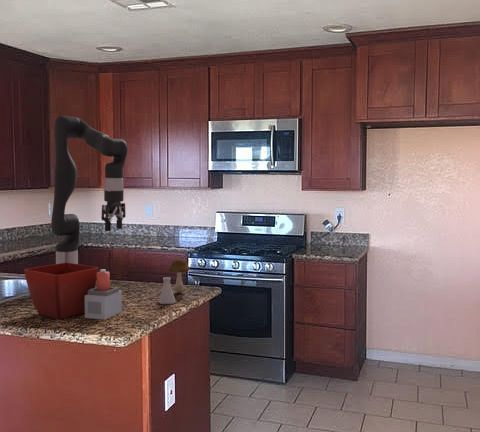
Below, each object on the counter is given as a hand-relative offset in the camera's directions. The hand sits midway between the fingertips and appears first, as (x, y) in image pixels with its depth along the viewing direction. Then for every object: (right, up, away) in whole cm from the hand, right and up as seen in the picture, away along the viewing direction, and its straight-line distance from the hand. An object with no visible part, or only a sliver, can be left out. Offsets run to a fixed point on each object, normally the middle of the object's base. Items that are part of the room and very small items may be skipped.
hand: (113, 230), depth 228 cm
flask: (+21, -29, -1) cm, 36 cm away
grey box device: (+1, -30, -20) cm, 37 cm away
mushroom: (+24, -28, +18) cm, 41 cm away
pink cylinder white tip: (+1, -22, -21) cm, 31 cm away
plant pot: (-15, -30, -19) cm, 39 cm away
